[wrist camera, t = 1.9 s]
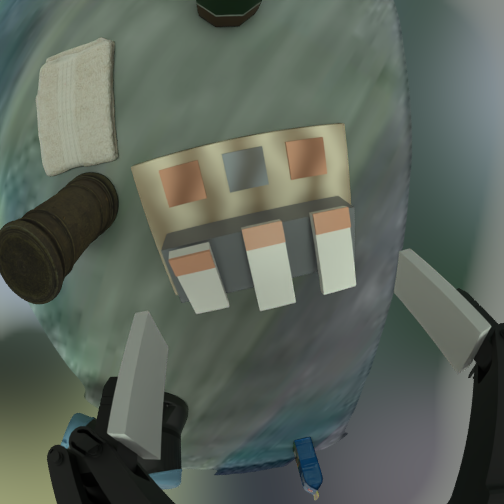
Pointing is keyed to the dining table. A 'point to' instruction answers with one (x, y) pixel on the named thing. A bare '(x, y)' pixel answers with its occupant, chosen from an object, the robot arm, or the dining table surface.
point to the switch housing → (233, 247)
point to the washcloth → (77, 108)
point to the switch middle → (269, 264)
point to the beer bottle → (227, 11)
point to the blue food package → (308, 465)
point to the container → (55, 237)
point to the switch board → (242, 177)
